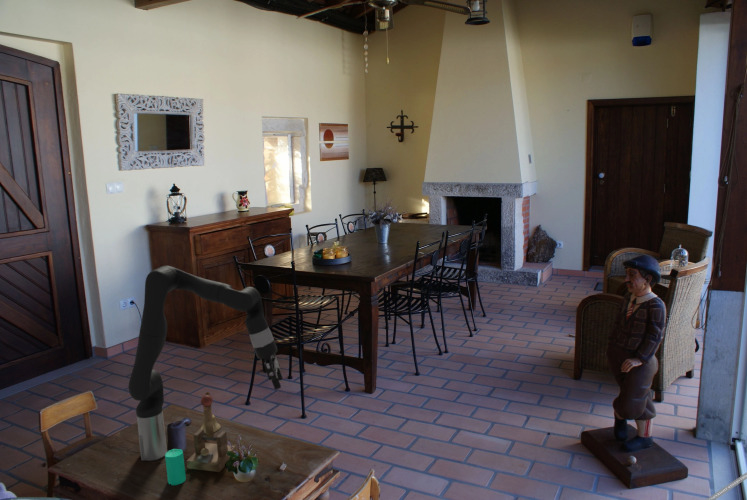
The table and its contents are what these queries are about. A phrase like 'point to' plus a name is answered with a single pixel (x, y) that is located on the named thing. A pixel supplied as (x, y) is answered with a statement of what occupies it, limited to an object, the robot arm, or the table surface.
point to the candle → (175, 466)
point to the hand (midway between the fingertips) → (279, 384)
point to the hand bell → (215, 424)
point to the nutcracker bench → (213, 462)
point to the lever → (208, 417)
